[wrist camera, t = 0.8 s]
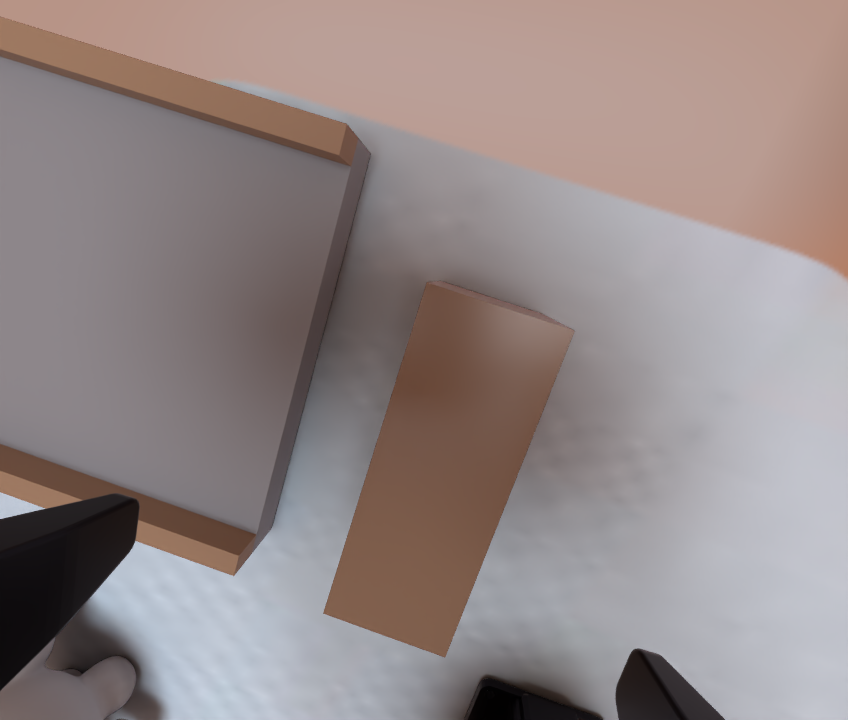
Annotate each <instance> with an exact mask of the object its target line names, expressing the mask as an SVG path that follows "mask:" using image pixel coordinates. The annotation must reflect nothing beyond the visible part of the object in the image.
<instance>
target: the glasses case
mask: <svg viewBox="0 0 848 720" xmlns="http://www.w3.org/2000/svg"><path fill="white" fill-rule="evenodd" d="M574 332H575V331H574V330H572V329H571V328H569V327H567V326H565V325H563V324H561V323H559V322H557V321H555V320H553V319H551V318H549V317H547V316H545V315H543V314H541V313H538V312H535V311H532V310H529V309H526V308H523V307H520V306H517V305H514V304H510V303H507V302H504V301H501V300H498V299H495V298H492V297H489V296H486V295H483V294H480V293H477V292H474V291H471V290H467V289H464V288H461V287H458V286H455V285H452V284H449V283H446V282H443V281H434V282H427V283H426V286H425V290H424V293H423V296H422V299H421V302H420V306H419V309H418V312H417V315H416V318H415V322H414V325H413V328H412V331H411V334H410V338H409V341H408V344H407V347H406V350H405V354H404V357H403V360H402V363H401V366H400V370H399V373H398V376H397V379H396V382H395V386H394V389H393V392H392V395H391V398H390V402H389V405H388V408H387V411H386V414H385V418H384V421H383V424H382V427H381V430H380V434H379V437H378V440H377V443H376V446H375V449H374V453H373V456H372V459H371V462H370V465H369V469H368V472H367V475H366V478H365V481H364V485H363V488H362V491H361V494H360V497H359V501H358V504H357V507H356V510H355V513H354V517H353V520H352V523H351V526H350V529H349V533H348V536H347V539H346V542H345V545H344V549H343V552H342V555H341V558H340V561H339V565H338V568H337V571H336V574H335V577H334V581H333V584H332V587H331V590H330V593H329V597H328V600H327V603H326V606H325V609H324V613H323V614H326V615H329V616H332V617H335V618H337V619H340V620H343V621H346V622H348V623H351V624H354V625H357V626H359V627H362V628H365V629H368V630H371V631H373V632H376V633H379V634H382V635H384V636H387V637H390V638H393V639H395V640H398V641H401V642H404V643H407V644H409V645H412V646H415V647H418V648H420V649H423V650H426V651H429V652H431V653H434V654H437V655H440V656H442V657H445V656H446V654H447V651H448V649H449V646H450V644H451V641H452V639H453V636H454V634H455V631H456V629H457V626H458V624H459V621H460V619H461V616H462V613H463V611H464V608H465V606H466V603H467V601H468V598H469V596H470V593H471V591H472V588H473V586H474V583H475V581H476V578H477V576H478V573H479V571H480V568H481V566H482V563H483V561H484V558H485V556H486V553H487V551H488V548H489V546H490V543H491V540H492V538H493V535H494V533H495V530H496V528H497V525H498V523H499V520H500V518H501V515H502V513H503V510H504V508H505V505H506V503H507V500H508V498H509V495H510V493H511V490H512V488H513V485H514V483H515V480H516V478H517V475H518V472H519V470H520V467H521V465H522V462H523V460H524V457H525V455H526V452H527V450H528V447H529V445H530V442H531V440H532V437H533V435H534V432H535V430H536V427H537V425H538V422H539V420H540V417H541V415H542V412H543V410H544V407H545V405H546V402H547V399H548V397H549V394H550V392H551V389H552V387H553V384H554V382H555V379H556V377H557V374H558V372H559V369H560V367H561V364H562V362H563V359H564V357H565V354H566V352H567V349H568V347H569V344H570V342H571V339H572V337H573V334H574Z"/></svg>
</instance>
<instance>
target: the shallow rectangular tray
mask: <svg viewBox="0 0 848 720" xmlns="http://www.w3.org/2000/svg"><path fill="white" fill-rule="evenodd" d="M370 155H371V153H370V152H369V151H368V150H367V148H366V147H365V146H364V145H363V143H362V142H361V141H360V140H359V138H358V137H357V136H356V135H355V133H354V132H353V131H352V130H351V128H350V127H349V126H348V125H347V124H345V123H342V122H339V121H336V120H332V119H329V118H326V117H323V116H320V115H316V114H313V113H310V112H307V111H303V110H300V109H297V108H294V107H290V106H287V105H284V104H281V103H278V102H274V101H271V100H268V99H265V98H261V97H258V96H255V95H252V94H248V93H245V92H242V91H239V90H236V89H232V88H229V87H226V86H223V85H219V84H216V83H213V82H210V81H207V80H203V79H200V78H197V77H194V76H190V75H187V74H184V73H181V72H177V71H174V70H171V69H168V68H165V67H161V66H158V65H155V64H152V63H148V62H145V61H142V60H139V59H135V58H132V57H129V56H126V55H123V54H119V53H116V52H113V51H110V50H106V49H103V48H100V47H96V46H93V45H90V44H87V43H84V42H81V41H77V40H74V39H71V38H68V37H64V36H61V35H58V34H55V33H52V32H48V31H45V30H42V29H39V28H35V27H32V26H29V25H25V24H23V23H19V22H16V21H12V20H10V19H6V18H3V17H0V492H1V493H4V494H7V495H10V496H13V497H15V498H18V499H21V500H24V501H27V502H29V503H32V504H35V505H38V506H40V507H43V508H46V509H47V508H51V507H56V506H60V505H64V504H69V503H73V502H78V501H82V500H86V499H91V498H95V497H99V496H104V495H108V494H113V493H119V494H123V495H126V496H130V497H133V498H136V499H137V500H138V501H139V504H140V510H139V518H138V526H137V535H136V540H135V541H138V542H141V543H143V544H146V545H149V546H152V547H155V548H157V549H160V550H163V551H166V552H169V553H171V554H174V555H177V556H180V557H182V558H185V559H188V560H191V561H194V562H196V563H199V564H202V565H205V566H207V567H210V568H213V569H216V570H219V571H221V572H224V573H227V574H230V575H233V576H234V575H235V574H236V573H237V571H238V570H239V569H240V568H241V566H242V565H243V564H244V563H245V561H246V560H247V559H248V558H249V556H250V555H251V554H252V552H253V551H254V550H255V549H256V547H257V546H258V545H259V544H260V542H261V541H262V540H263V539H264V537H265V536H266V535H267V533H268V532H269V531H270V530H271V528H272V525H273V521H274V517H275V514H276V510H277V506H278V502H279V498H280V495H281V491H282V487H283V483H284V480H285V476H286V472H287V468H288V464H289V461H290V457H291V453H292V449H293V446H294V442H295V438H296V434H297V430H298V427H299V423H300V419H301V415H302V412H303V408H304V404H305V400H306V396H307V393H308V389H309V385H310V381H311V378H312V374H313V370H314V366H315V362H316V359H317V355H318V351H319V347H320V344H321V340H322V336H323V332H324V328H325V325H326V321H327V317H328V313H329V310H330V306H331V302H332V298H333V294H334V291H335V287H336V283H337V279H338V276H339V272H340V268H341V264H342V261H343V257H344V253H345V249H346V245H347V242H348V238H349V234H350V230H351V227H352V223H353V219H354V215H355V211H356V208H357V204H358V200H359V196H360V193H361V189H362V185H363V181H364V177H365V174H366V170H367V166H368V162H369V159H370Z"/></svg>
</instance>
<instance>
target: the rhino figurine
mask: <svg viewBox="0 0 848 720" xmlns="http://www.w3.org/2000/svg"><path fill="white" fill-rule="evenodd" d="M54 642H55V638H54V639H53V640H52V641H51V642H50V643H49V644H48V645H47V646H46V647H45V648H44V649H43V650H42V651H41V652H40V653H39V654H38V655H37V656H36V657H35V658H34V659H33V660H32V661H31V662H30V663H29V664H28V665H27V666H26V667H25V668H24V669H23V670H21V671H20V672H19V673H18V674H17V675H16V676H15V677H14V678H13V679H12V680H11V681H10V682H9V683H8V684H7V685H6V686H5V687H4V688H3V689H2V690H1V691H0V720H104V719H105V718H106V717H107V716H109V715H111V714H112V713H114V712H116V711H117V710H118V709H120V708H121V707H122V706H123V705H124V704H125V703H126V702H127V701H128V700H129V698H130V696H131V695H132V693H133V690H134V687H135V683H136V673H135V670H134V667H133V666H132V664H131V663H130V662H129V661H128V660H127V659H126V658H124V657H121V656H113V657H109V658H107V659H104V660H102V661H101V662H99V663H97V664H95V665H94V666H93V667H91V668H90V669H89V670H87V671H86V672H85V673H84V674H82V673H81V672H79V671H77V670H75V669H65V670H62V671H57V670H52V669H48V668H47V667H46V666H45V662H46V660H47V658H48V656H49V654H50V652H51V650H52V648H53V645H54ZM117 720H127V719H117Z"/></svg>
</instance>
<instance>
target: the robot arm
mask: <svg viewBox="0 0 848 720" xmlns="http://www.w3.org/2000/svg"><path fill="white" fill-rule="evenodd" d="M139 510H140V504H139V501H138V500H137V499H136V498H133V497H130V496H126V495H123V494H119V493H113V494H108V495H104V496H99V497H95V498H91V499H86V500H82V501H78V502H73V503H69V504H64V505H60V506H56V507H51V508H47V509H43V510H38V511H34V512H30V513H25V514H21V515H17V516H12V517H8V518H4V519H0V691H1V690H2V689H3V688H4V687H5V686H6V685H7V684H8V683H9V682H10V681H11V680H12V679H13V678H14V677H15V676H16V675H17V674H18V673H19V672H20V671H21V670H23V669H24V668H25V667H26V666H27V665H28V664H29V663H30V662H31V661H32V660H33V659H34V658H35V657H36V656H37V655H38V654H39V653H40V652H41V651H42V650H43V649H44V648H45V647H46V646H47V645H48V644H49V643H50V642H51V641H52V640H53V639H54V638H55V637H56V636H57V635H58V634H59V632H60V631H61V630H62V629H63V628H64V627H65V626H66V625H67V624H68V623H69V621H70V620H71V619H72V618H73V617H74V616H75V615H76V614H77V612H78V611H79V610H80V609H81V608H82V607H83V605H84V604H85V603H86V602H87V601H88V600H89V598H90V597H91V596H92V595H93V594H94V593H95V592H96V590H97V589H98V588H99V587H100V586H101V585H102V583H103V582H104V581H105V580H106V579H107V578H108V576H109V575H110V574H111V573H112V572H113V571H114V570H115V568H116V567H117V566H118V565H119V564H120V563H121V561H122V560H123V559H124V558H125V557H126V556H127V554H128V553H129V552H130V550H131V549H132V547H133V545H134V543H135V540H136V535H137V526H138V518H139ZM487 690H491V691H487ZM616 706H617V712H618V718H619V720H725V719H724V718H723V717H722V716H721V715H720V714H719V713H718V712H717V711H716V710H715V709H714V708H713V707H712V706H711V705H710V704H709V703H708V702H707V701H706V700H705V699H704V698H703V697H702V696H701V695H700V694H699V693H698V692H697V691H696V690H695V689H694V688H693V687H692V686H691V685H690V684H689V683H688V682H687V681H686V680H685V679H684V678H683V677H682V676H681V675H680V674H679V673H678V672H677V671H676V670H675V669H674V668H673V667H672V666H671V665H670V664H669V663H668V662H667V661H666V660H665V659H664V658H663V657H662V656H660V655H659V654H656V653H653V652H649V651H646V650H643V649H634V650H633V651H632V652H631V654H630V656H629V658H628V660H627V663H626V665H625V667H624V670H623V672H622V674H621V677H620V679H619V681H618V684H617V687H616ZM464 720H603V719H601V718H599V717H596V716H593V715H591V714H588V713H585V712H582V711H579V710H577V709H574V708H571V707H568V706H566V705H563V704H560V703H557V702H554V701H552V700H549V699H546V698H543V697H541V696H538V695H535V694H532V693H529V692H527V691H524V690H521V689H518V688H516V687H513V686H510V685H507V684H504V683H502V682H499V681H496V680H493V679H489V678H488V679H484V680H482V681H481V682H480V684H479V686H478V688H477V691H476V693H475V695H474V698H473V700H472V703H471V705H470V707H469V710H468V712H467V714H466V717H465V719H464Z"/></svg>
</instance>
